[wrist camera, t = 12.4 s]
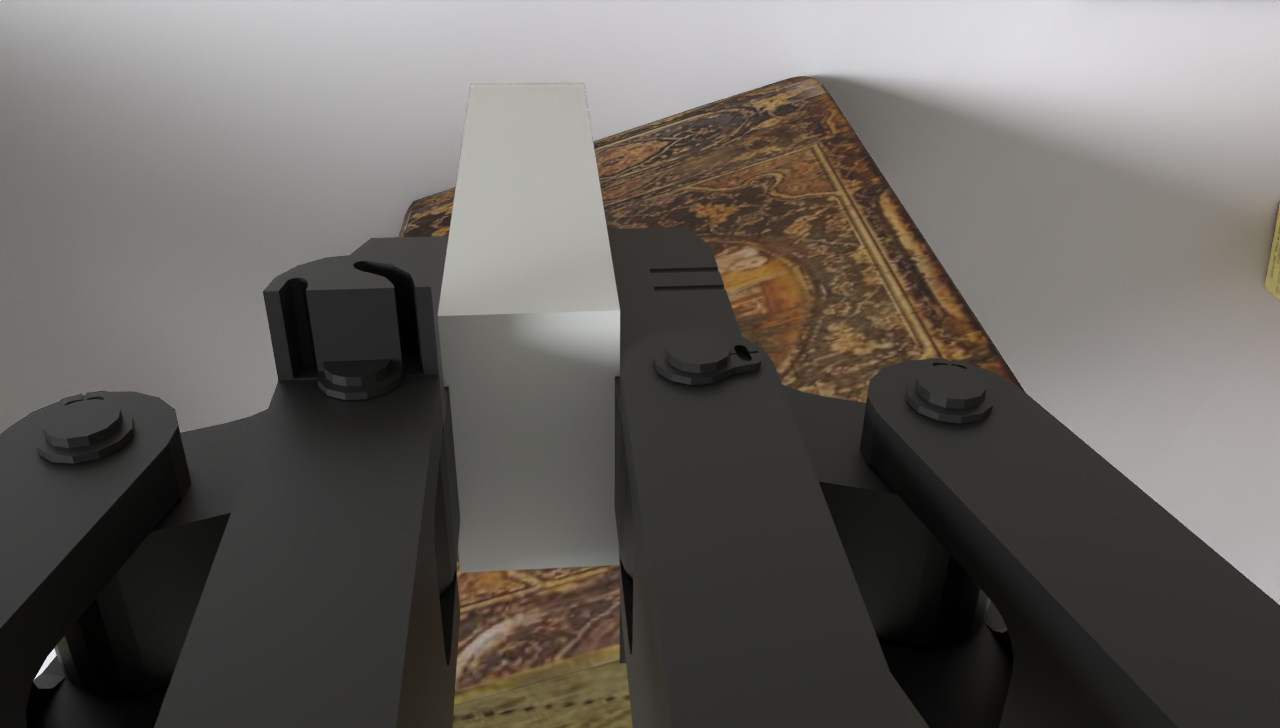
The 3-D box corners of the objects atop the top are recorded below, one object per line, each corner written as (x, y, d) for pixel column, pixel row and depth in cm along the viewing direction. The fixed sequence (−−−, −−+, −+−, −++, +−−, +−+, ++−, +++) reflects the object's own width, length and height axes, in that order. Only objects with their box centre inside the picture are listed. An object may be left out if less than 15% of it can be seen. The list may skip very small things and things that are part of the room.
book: (440, 334, 44) (323, 937, 23) (381, 211, 41) (185, 764, 20) (845, 205, 42) (1138, 727, 21) (812, 68, 40) (1109, 506, 18)
